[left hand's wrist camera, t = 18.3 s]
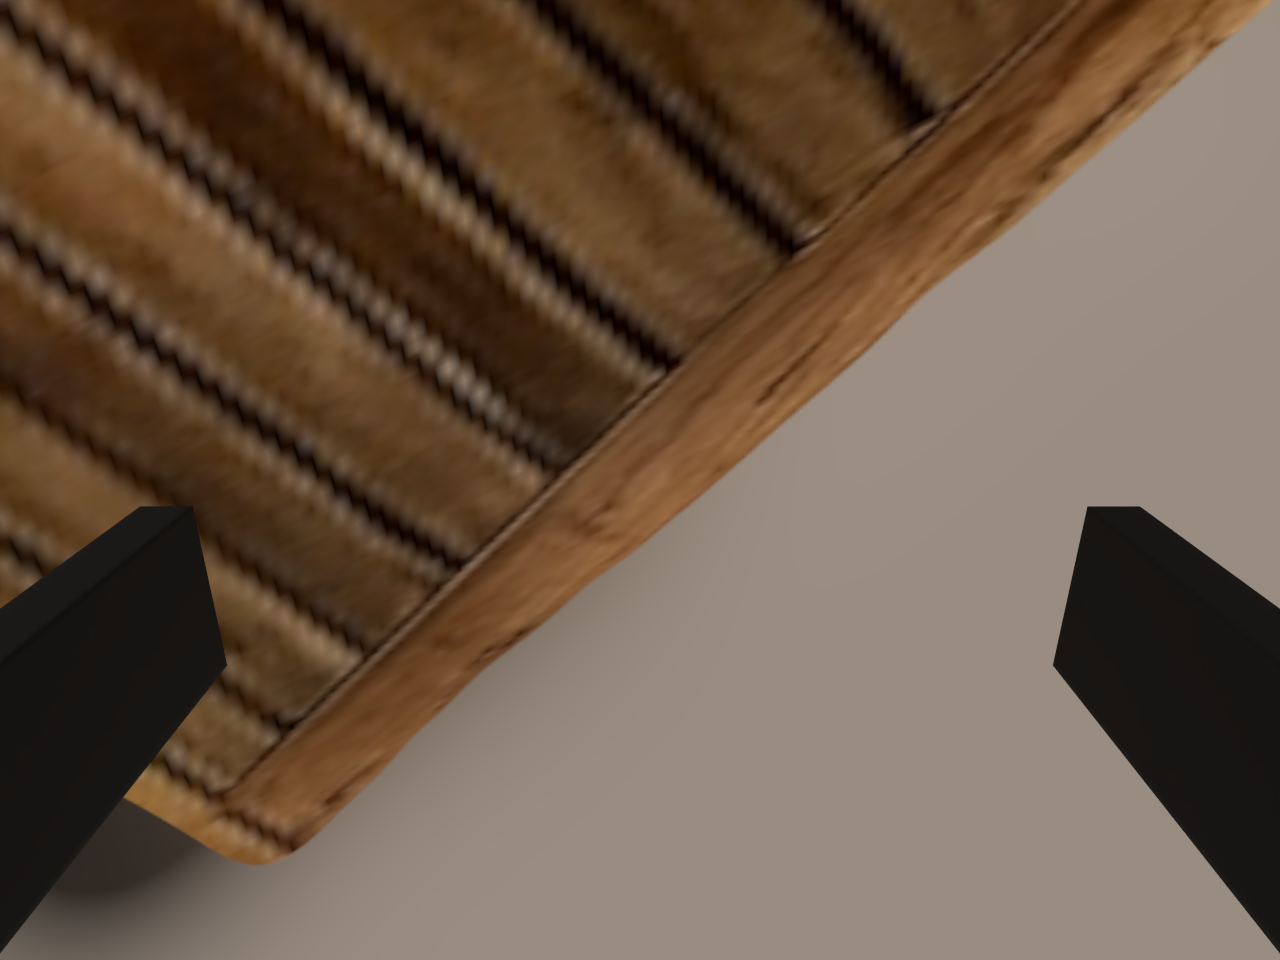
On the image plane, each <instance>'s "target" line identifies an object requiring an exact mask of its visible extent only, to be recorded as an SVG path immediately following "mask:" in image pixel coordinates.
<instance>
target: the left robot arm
mask: <svg viewBox="0 0 1280 960" xmlns="http://www.w3.org/2000/svg"><path fill="white" fill-rule="evenodd" d="M226 666H227V663H226V658H225V654H224V649H223V644H222V640H221V635H220V631H219V626H218V621H217V617H216V612H215V608H214V603H213V599H212V594H211V589H210V585H209V580H208V576H207V571H206V566H205V562H204V557H203V553H202V548H201V544H200V539H199V534H198V530H197V525H196V521H195V516H194V511H193V507H139V508H138V509H136V510H135V511H133V512H132V513H131V514H129V515H128V516H127V517H125V518H124V519H122V520H121V521H120V522H118V523H117V524H116V525H114V526H113V527H111V528H110V529H109V530H107V531H106V532H105V533H103V534H102V535H101V536H99V537H98V538H96V539H95V540H94V541H92V542H91V543H90V544H88V545H87V546H85V547H84V548H83V549H81V550H80V551H79V552H77V553H76V554H75V555H73V556H72V557H70V558H69V559H68V560H66V561H65V562H64V563H62V564H61V565H59V566H58V567H57V568H55V569H54V570H53V571H51V572H50V573H48V574H47V575H46V576H44V577H43V578H42V579H40V580H39V581H38V582H36V583H35V584H33V585H32V586H31V587H29V588H28V589H27V590H25V591H24V592H22V593H21V594H20V595H18V596H17V597H16V598H14V599H13V600H12V601H10V602H9V603H7V604H6V605H5V606H3V607H2V608H1V609H0V953H1V951H2V950H3V949H4V948H5V946H6V945H7V944H8V943H9V941H10V940H11V939H12V938H13V936H14V935H15V934H16V932H17V931H18V930H19V929H20V927H21V926H22V925H23V924H24V922H25V921H26V920H27V918H28V917H29V916H30V915H31V913H32V912H33V911H34V910H35V908H36V907H37V906H38V905H39V903H40V902H41V901H42V899H43V898H44V897H45V896H46V894H47V893H48V892H49V891H50V889H51V888H52V887H53V885H54V884H55V883H56V882H57V880H58V879H59V878H60V877H61V875H62V874H63V873H64V872H65V870H66V869H67V868H68V866H69V865H70V864H71V863H72V861H73V860H74V859H75V858H76V856H77V855H78V854H79V853H80V851H81V850H82V849H83V847H84V846H85V845H86V844H87V842H88V841H89V840H90V839H91V837H92V836H93V835H94V833H95V832H96V831H97V830H98V828H99V827H100V826H101V825H102V823H103V822H104V821H105V819H106V818H107V817H108V816H109V814H110V813H111V812H112V811H113V809H114V808H115V807H116V806H117V804H118V803H119V802H120V801H121V799H122V798H123V797H124V795H125V794H126V793H127V792H128V790H129V789H130V788H131V787H132V785H133V784H134V783H135V782H136V780H137V779H138V778H139V776H140V775H141V774H142V773H143V771H144V770H145V769H146V768H147V766H148V765H149V764H150V762H151V761H152V760H153V759H154V757H155V756H156V755H157V754H158V752H159V751H160V750H161V749H162V747H163V746H164V745H165V743H166V742H167V741H168V740H169V738H170V737H171V736H172V735H173V733H174V732H175V731H176V730H177V728H178V727H179V726H180V724H181V723H182V722H183V721H184V719H185V718H186V717H187V716H188V714H189V713H190V712H191V710H192V709H193V708H194V707H195V705H196V704H197V703H198V702H199V700H200V699H201V698H202V697H203V695H204V694H205V693H206V691H207V690H208V689H209V688H210V686H211V685H212V684H213V683H214V681H215V680H216V679H217V677H218V676H219V675H220V674H221V672H222V671H223V670H224V669H225V667H226ZM1053 666H1054V667H1055V669H1056V670H1057V671H1058V672H1059V674H1060V675H1061V676H1062V677H1063V679H1064V680H1065V681H1066V683H1067V684H1068V685H1069V686H1070V688H1071V689H1072V690H1073V691H1074V693H1075V694H1076V695H1077V696H1078V698H1079V699H1080V700H1081V702H1082V703H1083V704H1084V705H1085V707H1086V708H1087V709H1088V710H1089V712H1090V713H1091V714H1092V716H1093V717H1094V718H1095V719H1096V721H1097V722H1098V723H1099V724H1100V726H1101V727H1102V728H1103V729H1104V731H1105V732H1106V733H1107V735H1108V736H1109V737H1110V738H1111V740H1112V741H1113V742H1114V743H1115V745H1116V746H1117V747H1118V749H1119V750H1120V751H1121V752H1122V754H1123V755H1124V756H1125V757H1126V759H1127V760H1128V761H1129V762H1130V764H1131V765H1132V766H1133V768H1134V769H1135V770H1136V771H1137V773H1138V774H1139V775H1140V776H1141V778H1142V779H1143V780H1144V782H1145V783H1146V784H1147V785H1148V787H1149V788H1150V789H1151V790H1152V792H1153V793H1154V794H1155V795H1156V797H1157V798H1158V799H1159V801H1160V802H1161V803H1162V804H1163V806H1164V807H1165V808H1166V809H1167V811H1168V812H1169V813H1170V814H1171V816H1172V817H1173V818H1174V820H1175V821H1176V822H1177V823H1178V825H1179V826H1180V827H1181V828H1182V830H1183V831H1184V832H1185V833H1186V835H1187V836H1188V837H1189V839H1190V840H1191V841H1192V842H1193V844H1194V845H1195V846H1196V847H1197V849H1198V850H1199V851H1200V853H1201V854H1202V855H1203V856H1204V858H1205V859H1206V860H1207V861H1208V863H1209V864H1210V865H1211V866H1212V868H1213V869H1214V870H1215V872H1216V873H1217V874H1218V875H1219V877H1220V878H1221V879H1222V880H1223V882H1224V883H1225V884H1226V885H1227V887H1228V888H1229V889H1230V891H1231V892H1232V893H1233V894H1234V896H1235V897H1236V898H1237V899H1238V901H1239V902H1240V903H1241V904H1242V906H1243V907H1244V908H1245V910H1246V911H1247V912H1248V913H1249V915H1250V916H1251V917H1252V919H1253V920H1254V921H1255V922H1256V924H1257V925H1258V926H1259V927H1260V929H1261V930H1262V931H1263V932H1264V934H1265V935H1266V936H1267V938H1268V939H1269V940H1270V941H1271V943H1272V944H1273V945H1274V946H1275V948H1276V949H1277V950H1278V951H1279V953H1280V609H1279V608H1278V607H1277V606H1275V605H1274V604H1273V603H1271V602H1270V601H1268V600H1267V599H1266V598H1264V597H1263V596H1262V595H1260V594H1259V593H1258V592H1256V591H1255V590H1253V589H1252V588H1251V587H1249V586H1248V585H1247V584H1245V583H1244V582H1242V581H1241V580H1240V579H1238V578H1237V577H1236V576H1234V575H1233V574H1231V573H1230V572H1229V571H1227V570H1226V569H1225V568H1223V567H1222V566H1221V565H1219V564H1218V563H1216V562H1215V561H1214V560H1212V559H1211V558H1210V557H1208V556H1207V555H1205V554H1204V553H1203V552H1201V551H1200V550H1199V549H1197V548H1196V547H1194V546H1193V545H1192V544H1190V543H1189V542H1188V541H1186V540H1185V539H1184V538H1182V537H1181V536H1179V535H1178V534H1177V533H1175V532H1174V531H1173V530H1171V529H1170V528H1169V527H1167V526H1166V525H1164V524H1163V523H1162V522H1160V521H1159V520H1157V519H1156V518H1155V517H1153V516H1152V515H1151V514H1149V513H1148V512H1147V511H1145V510H1144V509H1142V508H1141V507H1087V511H1086V516H1085V521H1084V525H1083V530H1082V534H1081V539H1080V544H1079V548H1078V553H1077V557H1076V562H1075V567H1074V571H1073V576H1072V580H1071V585H1070V590H1069V594H1068V599H1067V603H1066V608H1065V612H1064V617H1063V621H1062V626H1061V631H1060V635H1059V640H1058V645H1057V649H1056V654H1055V658H1054V663H1053Z"/></svg>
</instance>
